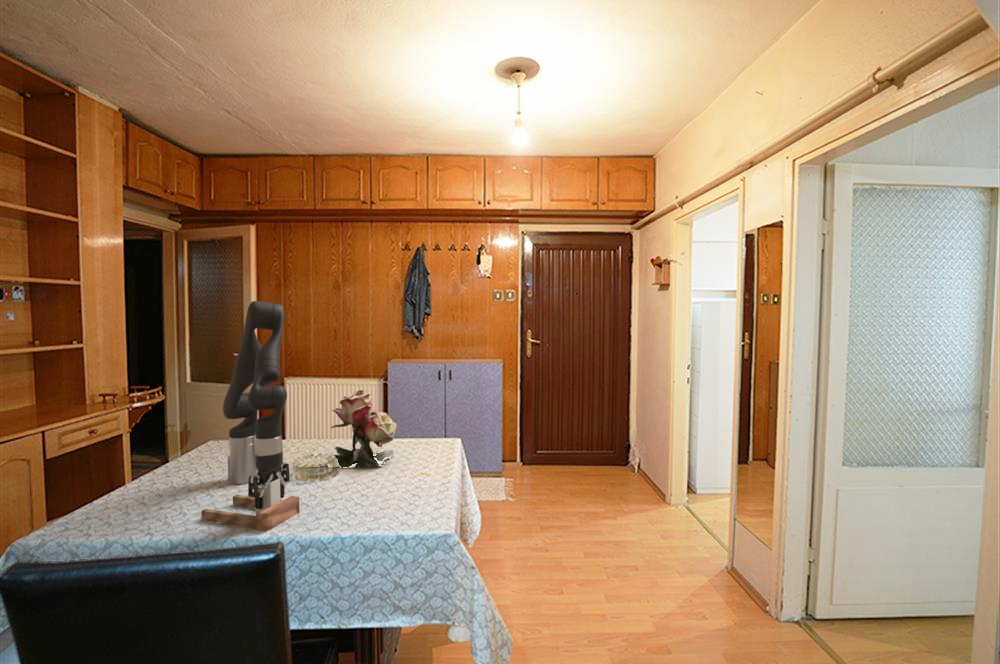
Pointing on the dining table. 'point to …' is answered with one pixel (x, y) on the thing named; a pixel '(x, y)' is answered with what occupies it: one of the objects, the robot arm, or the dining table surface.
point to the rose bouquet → (364, 430)
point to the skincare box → (270, 496)
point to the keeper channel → (264, 522)
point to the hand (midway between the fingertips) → (270, 503)
